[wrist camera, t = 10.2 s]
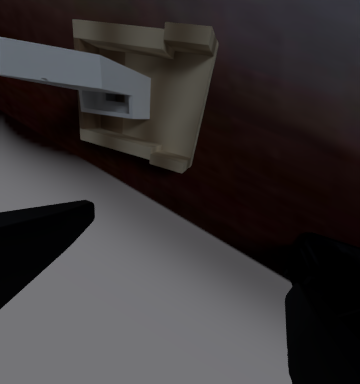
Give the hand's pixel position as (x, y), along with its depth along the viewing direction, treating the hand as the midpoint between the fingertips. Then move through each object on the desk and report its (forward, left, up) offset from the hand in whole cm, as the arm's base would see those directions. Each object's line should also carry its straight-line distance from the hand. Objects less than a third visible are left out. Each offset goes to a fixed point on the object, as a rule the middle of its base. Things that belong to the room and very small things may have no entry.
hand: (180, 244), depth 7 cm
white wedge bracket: (+11, -5, -12) cm, 17 cm away
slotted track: (+9, -5, -13) cm, 17 cm away
